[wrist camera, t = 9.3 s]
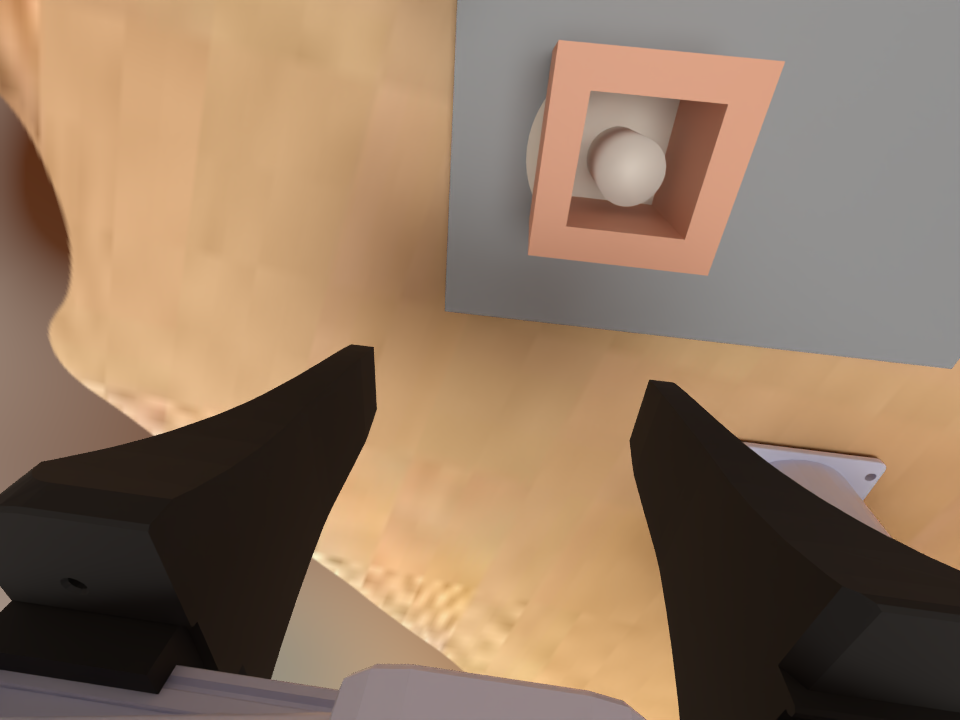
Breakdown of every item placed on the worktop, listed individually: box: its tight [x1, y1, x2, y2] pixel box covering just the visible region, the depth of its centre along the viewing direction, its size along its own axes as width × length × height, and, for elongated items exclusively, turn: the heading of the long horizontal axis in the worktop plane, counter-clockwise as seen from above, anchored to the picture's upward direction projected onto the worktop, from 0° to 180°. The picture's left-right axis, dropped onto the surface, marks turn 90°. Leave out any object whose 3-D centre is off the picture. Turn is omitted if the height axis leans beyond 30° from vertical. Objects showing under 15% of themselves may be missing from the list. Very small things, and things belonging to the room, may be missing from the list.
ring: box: [528, 40, 785, 276], centre depth 15 cm, size 6×6×4 cm
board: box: [445, 0, 960, 369], centre depth 16 cm, size 14×22×5 cm, turn 86°
